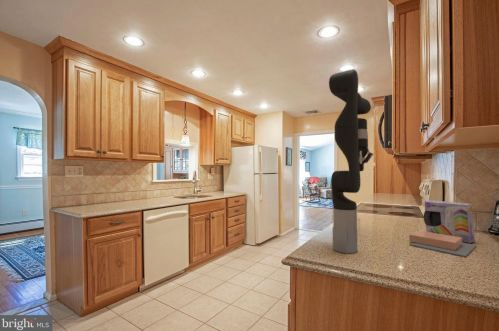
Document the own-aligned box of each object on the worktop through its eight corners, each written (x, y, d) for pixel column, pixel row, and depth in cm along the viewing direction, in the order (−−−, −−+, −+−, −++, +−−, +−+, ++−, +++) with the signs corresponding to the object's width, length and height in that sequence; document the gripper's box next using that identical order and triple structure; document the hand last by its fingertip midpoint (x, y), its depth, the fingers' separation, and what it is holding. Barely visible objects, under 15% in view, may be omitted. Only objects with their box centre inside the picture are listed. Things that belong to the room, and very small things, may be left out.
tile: (409, 241, 107) (455, 251, 94) (409, 234, 107) (455, 242, 94) (418, 237, 114) (462, 245, 101) (418, 230, 114) (462, 237, 102)
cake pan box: (423, 233, 123) (422, 200, 123) (429, 232, 125) (428, 199, 125) (469, 244, 105) (468, 204, 105) (475, 242, 107) (474, 203, 107)
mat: (465, 257, 89) (465, 255, 89) (409, 245, 103) (409, 244, 103) (476, 246, 101) (476, 245, 101) (424, 237, 116) (424, 236, 116)
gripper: (344, 139, 127) (345, 171, 127) (369, 136, 117) (370, 171, 116) (351, 140, 132) (352, 171, 131) (376, 137, 121) (376, 171, 121)
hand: (360, 171), depth 124 cm, fingers closed
